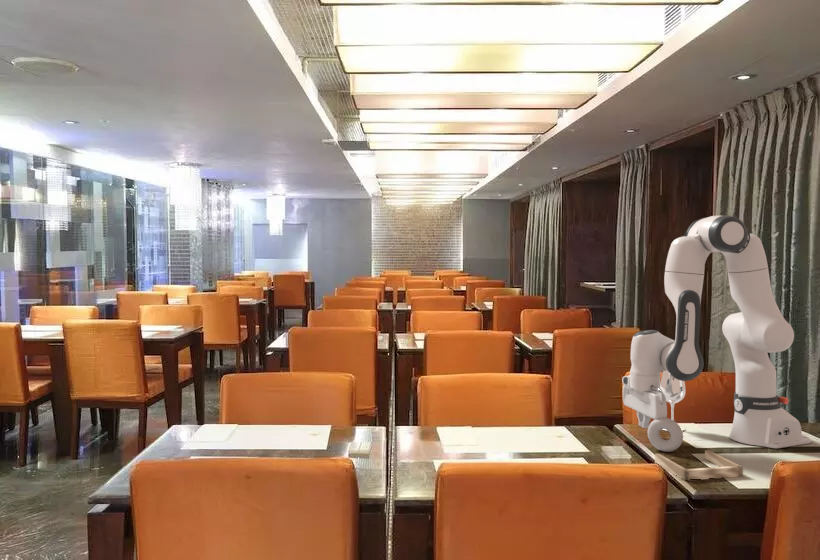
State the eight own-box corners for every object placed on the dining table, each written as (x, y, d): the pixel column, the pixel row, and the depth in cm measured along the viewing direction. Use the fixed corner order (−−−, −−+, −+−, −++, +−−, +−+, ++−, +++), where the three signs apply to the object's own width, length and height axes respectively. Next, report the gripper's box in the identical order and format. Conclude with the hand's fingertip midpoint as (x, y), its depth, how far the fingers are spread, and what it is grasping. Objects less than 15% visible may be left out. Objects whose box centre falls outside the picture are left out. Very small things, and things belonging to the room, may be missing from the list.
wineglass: (672, 433, 209) (672, 371, 208) (654, 427, 216) (654, 367, 215) (690, 430, 212) (691, 369, 211) (672, 424, 219) (672, 365, 218)
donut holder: (708, 458, 183) (708, 450, 183) (742, 476, 169) (742, 466, 169) (654, 462, 181) (654, 453, 181) (684, 480, 166) (684, 471, 166)
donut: (684, 452, 189) (684, 418, 189) (681, 455, 186) (681, 421, 186) (649, 447, 195) (649, 414, 194) (645, 449, 192) (645, 416, 192)
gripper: (673, 389, 191) (671, 436, 191) (637, 376, 211) (636, 418, 211) (653, 390, 190) (652, 437, 190) (619, 376, 210) (618, 419, 210)
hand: (643, 427), depth 201 cm, fingers closed
